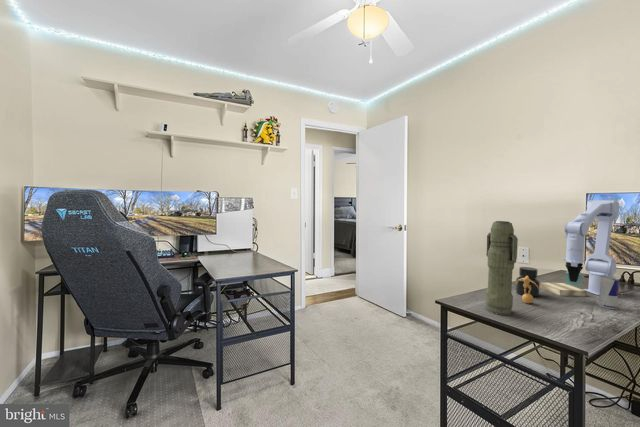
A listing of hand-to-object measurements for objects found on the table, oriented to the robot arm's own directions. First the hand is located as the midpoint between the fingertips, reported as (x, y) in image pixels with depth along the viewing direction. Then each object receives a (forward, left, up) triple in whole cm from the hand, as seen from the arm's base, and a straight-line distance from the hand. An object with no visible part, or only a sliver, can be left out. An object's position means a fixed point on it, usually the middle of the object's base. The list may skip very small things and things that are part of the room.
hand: (573, 280), depth 126 cm
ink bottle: (+14, -7, -9) cm, 19 cm away
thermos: (+40, +15, -9) cm, 44 cm away
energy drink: (-8, +8, -9) cm, 14 cm away
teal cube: (0, 0, -2) cm, 2 cm away
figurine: (+23, +6, -9) cm, 26 cm away
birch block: (-6, -12, -9) cm, 17 cm away
